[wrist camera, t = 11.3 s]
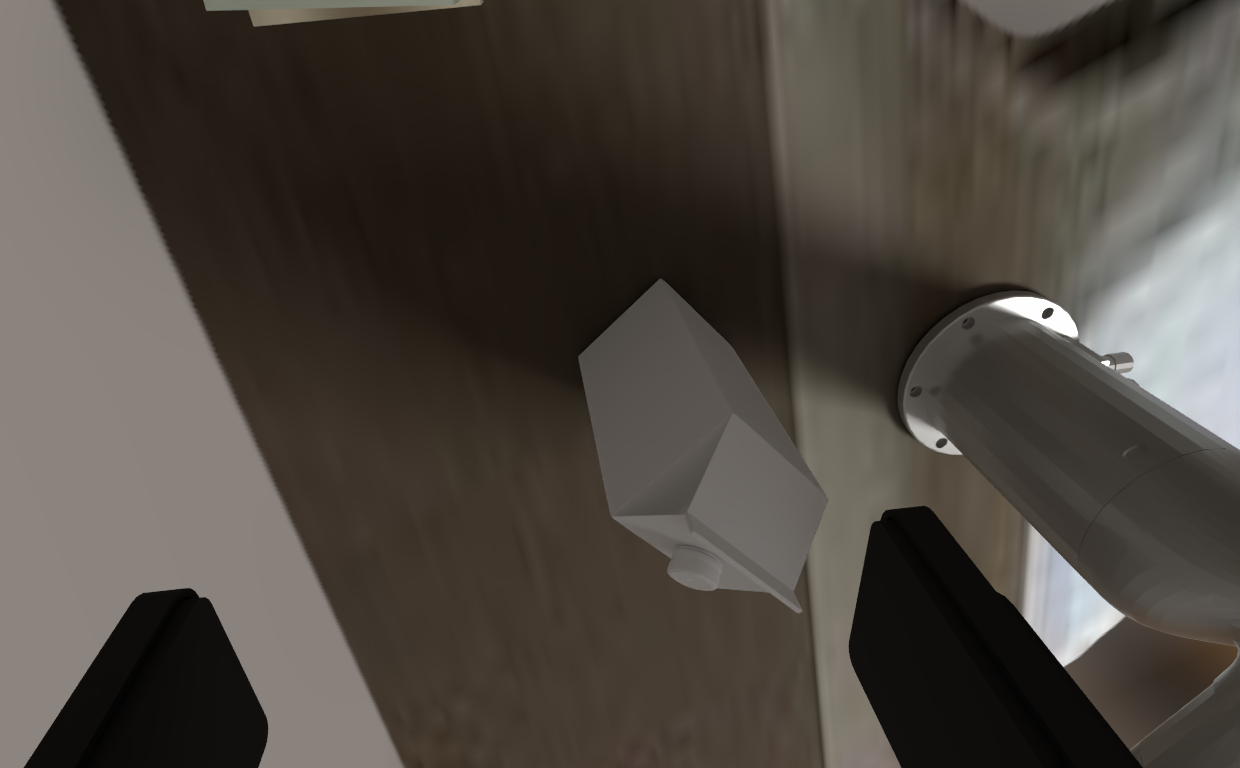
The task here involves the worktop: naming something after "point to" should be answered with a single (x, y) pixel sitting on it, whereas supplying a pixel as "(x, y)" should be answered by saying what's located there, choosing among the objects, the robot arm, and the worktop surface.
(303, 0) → the sage block
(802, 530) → the milk carton
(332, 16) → the birch block
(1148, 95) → the worktop surface
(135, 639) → the robot arm
